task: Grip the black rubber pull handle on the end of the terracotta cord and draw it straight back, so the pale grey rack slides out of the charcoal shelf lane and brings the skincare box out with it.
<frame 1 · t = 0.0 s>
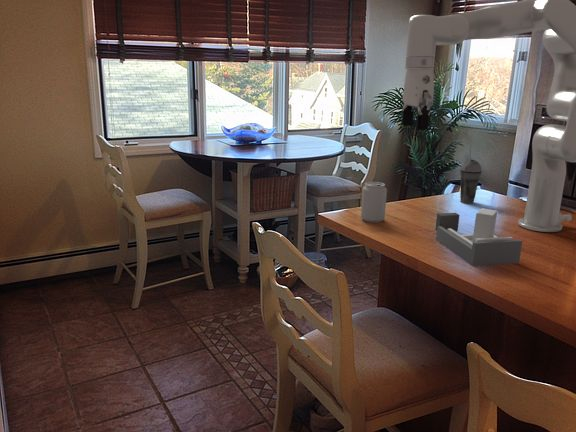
hand: (414, 127, 148), 31 cm above the kitchen island, fingers open, 9 cm apart
shelf lane: (475, 250, 144), on the kitchen island
skincare box: (481, 255, 141), resting in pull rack
can: (372, 220, 169), on the kitchen island
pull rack: (467, 233, 147), point 3 cm above the kitchen island, slide at 0.0 cm
beverage cup: (466, 202, 192), on the kitchen island
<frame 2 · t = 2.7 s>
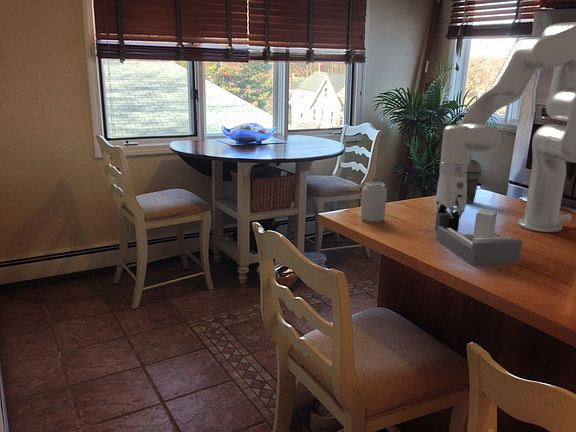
hand: (446, 226, 159), 2 cm above the kitchen island, fingers open, 6 cm apart
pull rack: (467, 233, 147), point 3 cm above the kitchen island, slide at 0.3 cm, touching gripper
everything else where it was.
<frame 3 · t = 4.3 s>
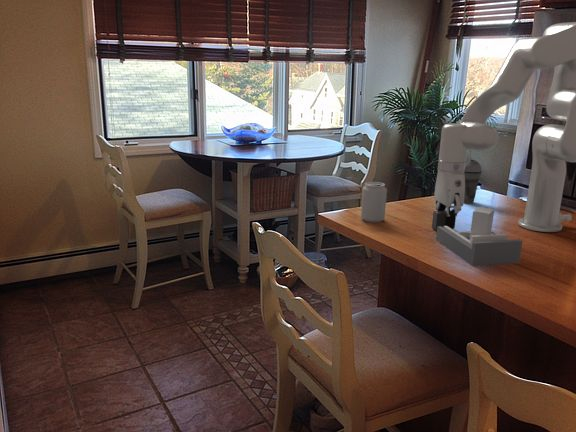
hand: (444, 225, 160), 2 cm above the kitchen island, fingers closed on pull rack, 4 cm apart
skincare box: (478, 253, 142), resting in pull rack
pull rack: (463, 231, 149), point 3 cm above the kitchen island, slide at 2.3 cm, touching gripper, skincare box
everything else where it was.
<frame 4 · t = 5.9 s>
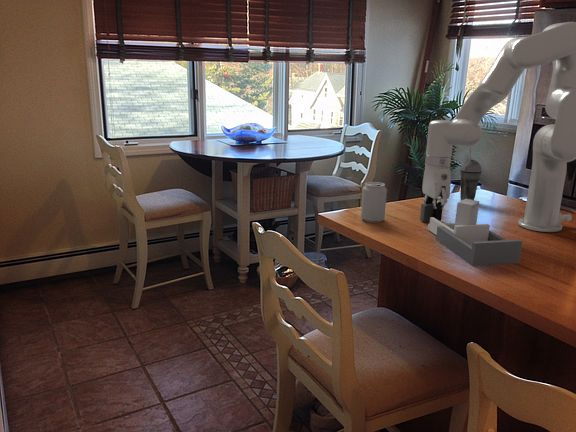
hand: (432, 217, 168), 2 cm above the kitchen island, fingers closed on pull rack, 4 cm apart
skincare box: (463, 242, 150), resting in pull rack
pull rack: (449, 222, 157), point 3 cm above the kitchen island, slide at 10.7 cm, touching gripper, skincare box
everything else where it was.
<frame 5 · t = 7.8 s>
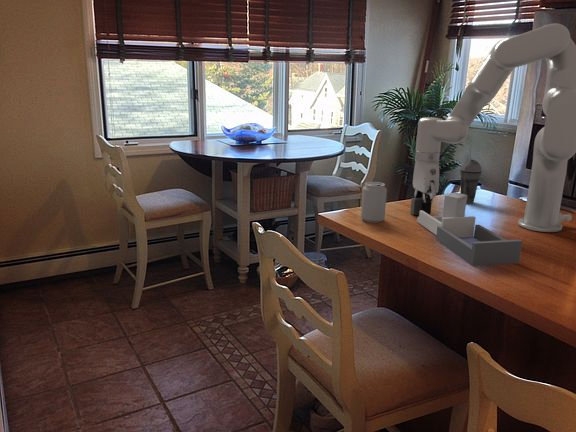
hand: (422, 210, 175), 2 cm above the kitchen island, fingers closed on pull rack, 4 cm apart
skincare box: (451, 234, 157), resting in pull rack
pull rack: (437, 215, 164), point 3 cm above the kitchen island, slide at 18.1 cm, touching gripper, skincare box
everything else where it was.
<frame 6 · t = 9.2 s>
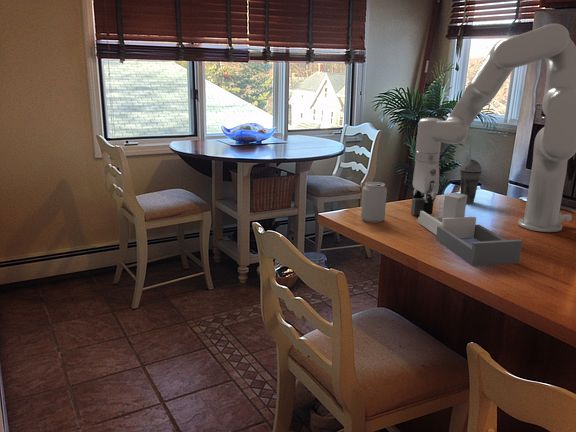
hand: (422, 210, 175), 2 cm above the kitchen island, fingers open, 7 cm apart
skincare box: (451, 234, 157), resting in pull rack
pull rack: (438, 215, 164), point 3 cm above the kitchen island, slide at 17.7 cm
everything else where it was.
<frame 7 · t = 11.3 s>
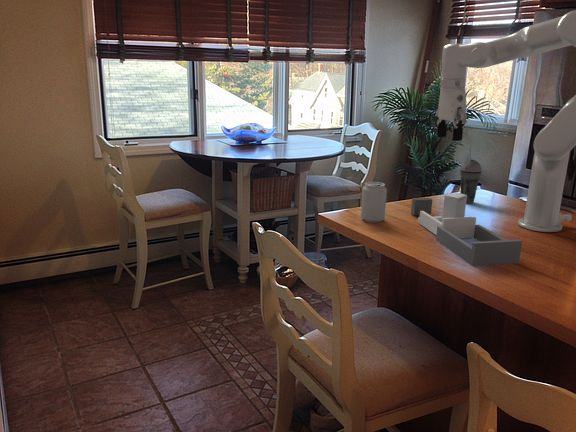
hand: (449, 138, 173), 25 cm above the kitchen island, fingers open, 9 cm apart
nothing on the kitchen island moved.
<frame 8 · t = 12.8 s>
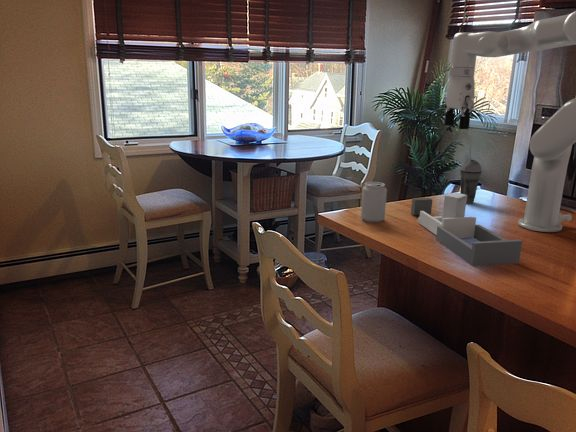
hand: (456, 127, 174), 28 cm above the kitchen island, fingers open, 9 cm apart
nothing on the kitchen island moved.
at the end: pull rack slide at 17.7 cm; skincare box inside the target area (0.9 cm from its centre), resting in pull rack; skincare box tilted 0° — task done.
